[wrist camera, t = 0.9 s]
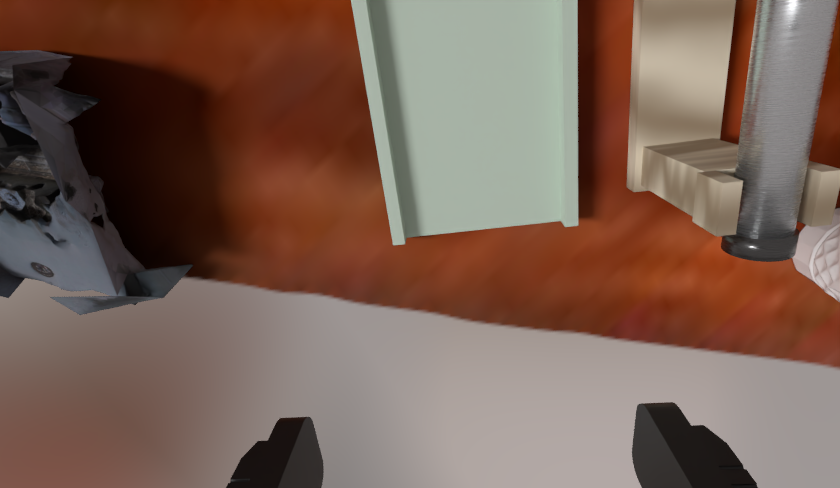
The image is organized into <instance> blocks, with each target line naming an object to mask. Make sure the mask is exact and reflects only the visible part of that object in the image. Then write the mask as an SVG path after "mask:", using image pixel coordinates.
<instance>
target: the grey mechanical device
mask: <svg viewBox="0 0 840 488" xmlns="http://www.w3.org/2000/svg"><path fill="white" fill-rule="evenodd" d="M71 58H72V57H69V56H64V55H59V54H55V53H50V52H45V51H39V50H31V51H0V296H3V297H7V298H9V297H10V296H11V294H12V293H13V292H14V291H15V289H16V288H17V287H18V286H19V285H20V284H21V282H22V281H23V280H24V279H25V278H30V279H35V280H40V281H44V282H46V283H49V284H51V285H54V286H57V287H59V288H61V289H63V290H67V291H84V290H94V291H98V292H102V293H105V294H107V295H110V296H94V297H93V296H92V297H51V298H52V299H54V300H56V301H57V302H59V303H61V304H63V305H64V306H66V307H68V308H69V309H71V310H73V311H74V312H76V313H78V314H79V315H82V314H87V313H91V312H96V311H99V310H104V309H110V308H114V307H119V306H123V305H128V304H134V305H136V304H137V303H138V302H142V301H146V300H152V299H158V298H163V297H165V295H166V294H167V293H168V292H169V291H170V290H171V289H172V288H173V287H174V285H176V284H177V282H178V281H179V280H180V279H181V278H182V277H183V276H184V275H185V274H186V273H187V272H188V271H189V269H190V268H191V267H192V266H193V265H192V264H189V265H179V266H169V267H160V268H152V269H145V268H144V266H143V265H142V264H141V263H140V262H139V261H138V260H137V259H135V258H134V256H133V255H132V254H131V253H130V252H129V251H128V250H127V249H126V248H125V247H124V245H123V243H122V240H121V238H120V236H119V233H118V231H117V230H116V228H115V227H114V225H113V223H111V221H110V220H109V218H108V216H107V214H106V213H108V212H109V210H108V208H107V207H106V206H105V202H104V197H103V195H102V192H101V190H102V187H103V185H104V181H103V180H102V179H101V178H100V177H99V176H91V175H88V172H87V170H86V169H85V167H84V166H83V163H82V161H81V158H80V155H79V152H78V150H79V144H78V141H77V139H76V137H75V134H74V130H73V127H71V126H70V124H69V121H70V120H72V119H73V118H75V117H77V116H79V115H80V114H81V113H82V112H83V111H85V110H87V109H90V108H91V107H93V106H94V105H95V104H97V103H98V102H99V101H101V99H98V98H95V97H92V96H87V95H81V94H76V93H73V92H69V91H66V90H63V89H60V88H58V87H55V86H54V85H56V84H58V83H59V80H62V79H63V74H64V71H65V70H67V69H68V67H69V66H70V65H71V63H70V59H71ZM101 215H102V218H103V221H104V225H103V227H101V226H99V225H97V224H96V223H94V222H91V220H92V219H93V218H94V217H98V216H101Z"/></svg>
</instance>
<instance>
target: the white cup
mask: <svg viewBox="0 0 840 488" xmlns="http://www.w3.org/2000/svg"><path fill="white" fill-rule="evenodd" d="M792 259H793V262H794V265H795V268H796V270H797V271H798V272H800V273H801V274H803V275H804V276H805V277H807V278H808V279H809V280H811V281H812V282H814V283H815V284H817V285H818V286H820V287H821V288H822V289H823V290H824V291H825V292H826V293H827V294H829V295H830V296H832V297H834V298H835V299H836V300H837V301H839V302H840V208H837V209H835V211H834V215H833V220H832V224H831V225H825V226H815V227H810V226H808V225H806V226H805V227H804V228H803V229H802V231H801V232H800V233H799V238H798V243H797V248H796V254H795V256H794V257H792Z"/></svg>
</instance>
